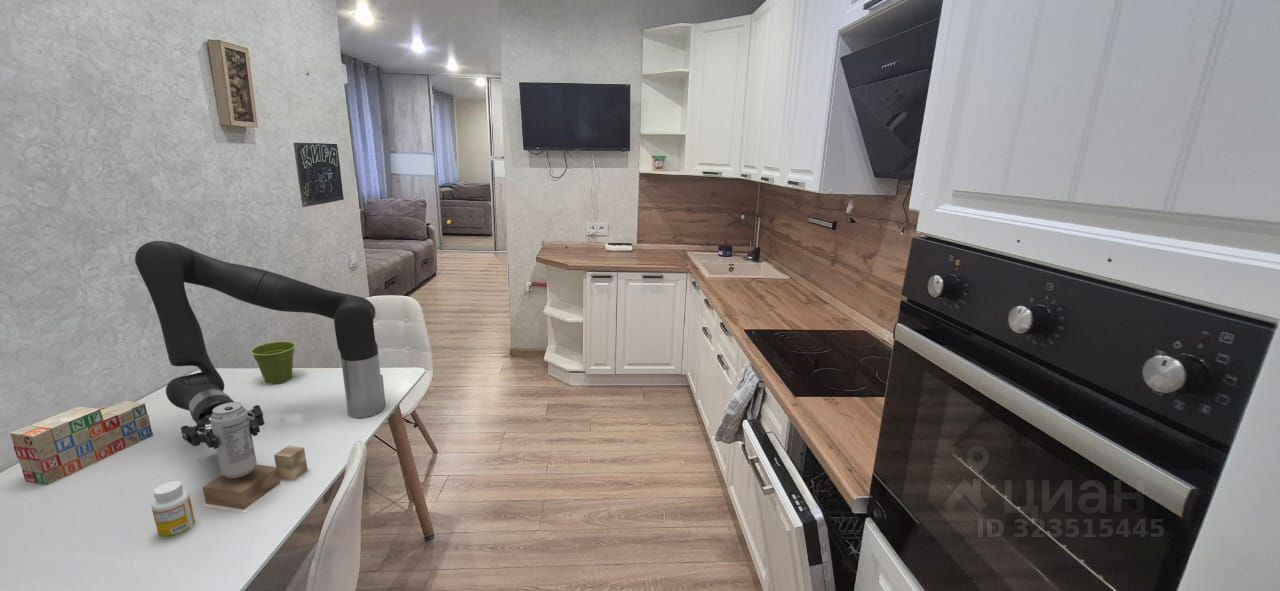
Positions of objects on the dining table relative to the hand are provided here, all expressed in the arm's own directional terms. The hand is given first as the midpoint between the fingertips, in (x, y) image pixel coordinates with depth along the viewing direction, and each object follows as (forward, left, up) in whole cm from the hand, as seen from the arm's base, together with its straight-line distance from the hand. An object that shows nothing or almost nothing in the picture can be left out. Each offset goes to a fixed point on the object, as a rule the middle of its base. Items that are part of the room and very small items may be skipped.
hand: (236, 437), depth 104 cm
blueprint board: (-3, -1, -15) cm, 15 cm away
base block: (-1, -2, -14) cm, 15 cm away
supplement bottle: (+10, -5, -15) cm, 19 cm away
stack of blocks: (-6, -48, -15) cm, 51 cm away
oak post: (-9, +2, -14) cm, 17 cm away
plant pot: (-52, -42, -15) cm, 69 cm away
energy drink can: (-1, -2, -9) cm, 10 cm away
